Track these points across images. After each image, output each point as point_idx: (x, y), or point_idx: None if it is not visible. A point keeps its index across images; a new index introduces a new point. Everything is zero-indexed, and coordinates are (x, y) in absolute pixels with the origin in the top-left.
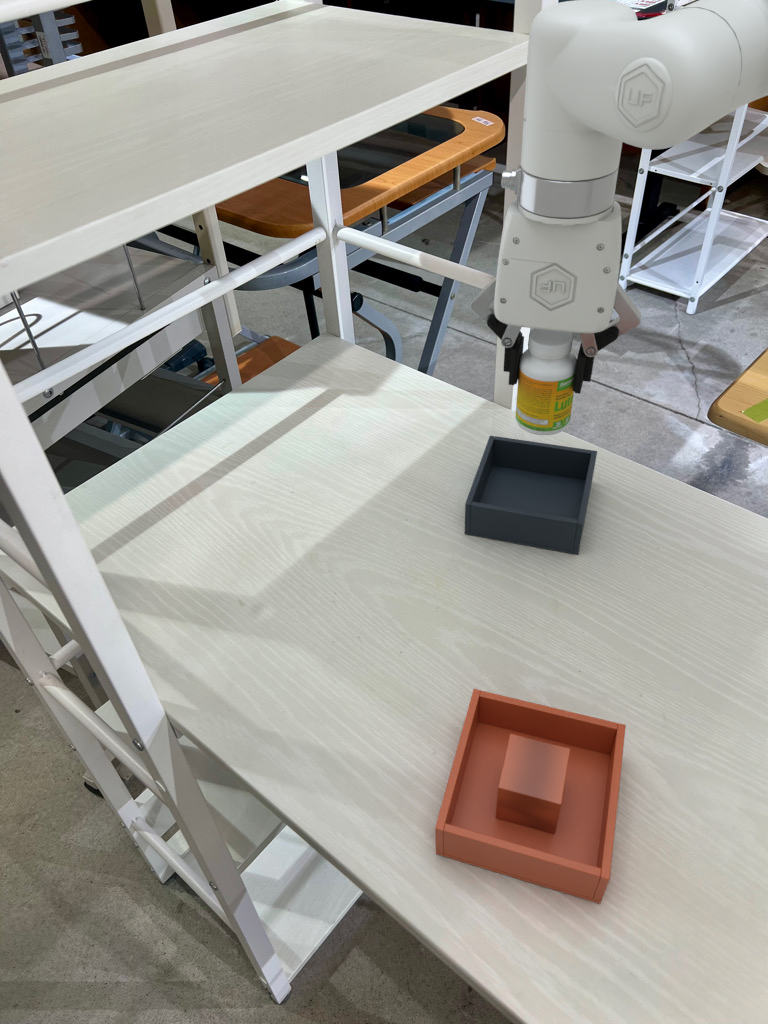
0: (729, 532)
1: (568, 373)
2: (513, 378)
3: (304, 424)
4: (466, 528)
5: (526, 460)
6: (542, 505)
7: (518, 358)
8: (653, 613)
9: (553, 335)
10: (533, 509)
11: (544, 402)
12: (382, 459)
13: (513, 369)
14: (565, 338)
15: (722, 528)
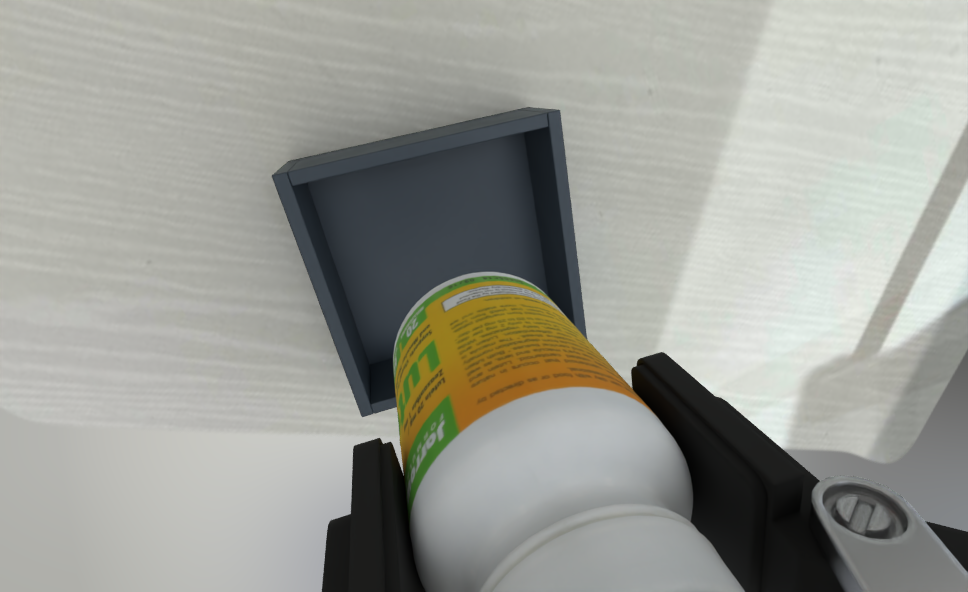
0: (44, 375)
1: (426, 498)
2: (662, 372)
3: (897, 250)
4: (530, 108)
5: None
6: (417, 257)
7: (711, 460)
8: (41, 60)
9: None
10: (428, 238)
11: (482, 338)
12: (744, 233)
13: (694, 400)
14: None
15: (63, 378)
